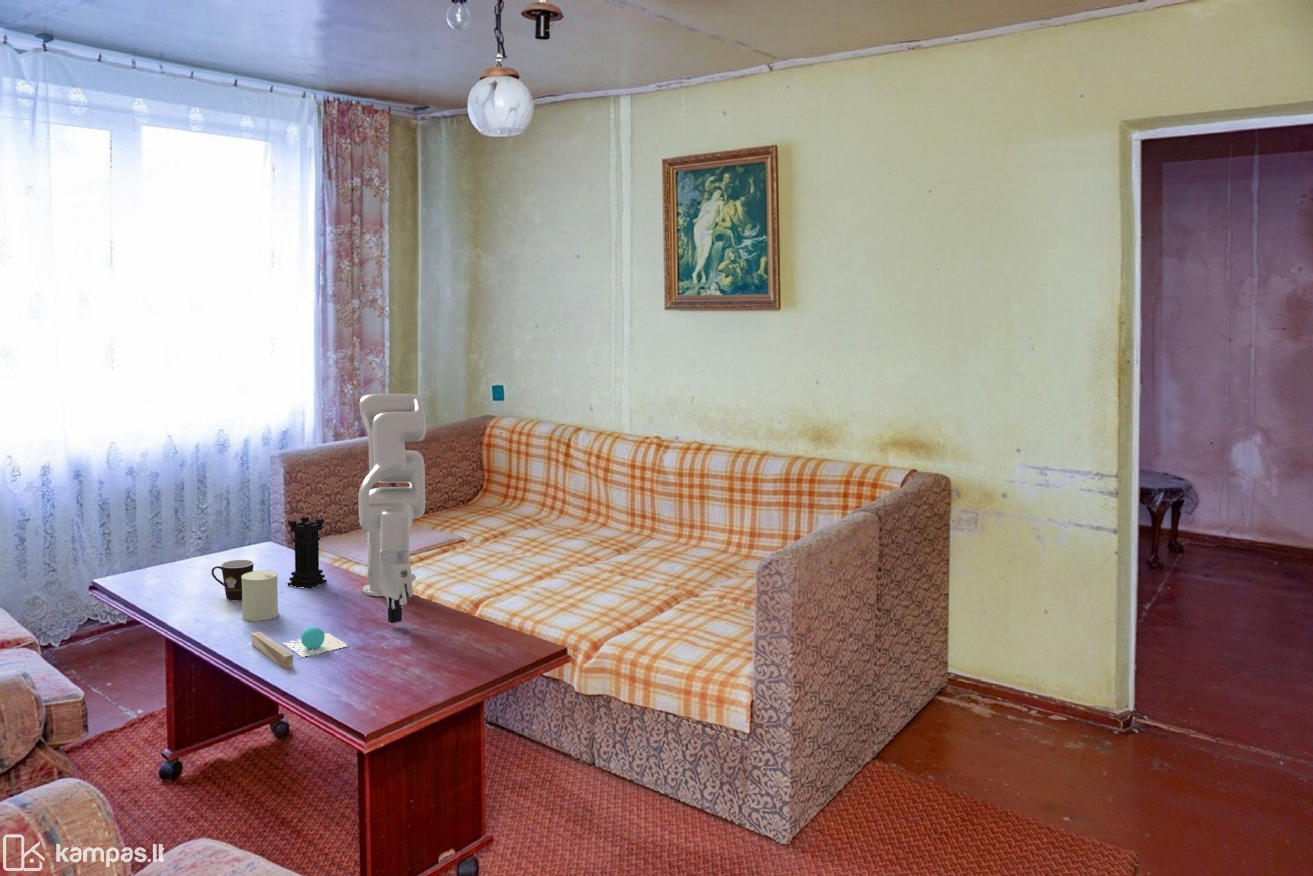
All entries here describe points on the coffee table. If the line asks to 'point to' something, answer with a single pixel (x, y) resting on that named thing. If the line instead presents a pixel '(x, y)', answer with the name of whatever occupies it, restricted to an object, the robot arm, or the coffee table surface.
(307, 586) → the chess piece
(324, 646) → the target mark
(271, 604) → the can
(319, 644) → the ball
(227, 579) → the coffee mug
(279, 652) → the rail
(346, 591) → the coffee table surface
